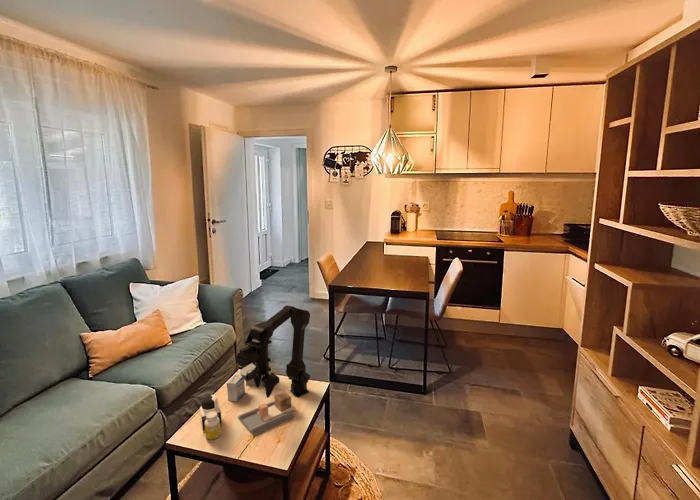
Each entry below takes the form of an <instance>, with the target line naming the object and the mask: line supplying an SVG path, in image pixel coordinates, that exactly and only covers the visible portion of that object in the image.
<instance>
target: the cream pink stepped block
mask: <svg viewBox="0 0 700 500" xmlns="http://www.w3.org/2000/svg"><path fill="white" fill-rule="evenodd" d="M266 404H267V403H262V404H260V405H259V406H257V408H259V412H258V415H259V416H260V417H261V418H262V419H263V420H264V421H265V422H266V421H269V420H271V419H273V418H276V417H278V416H280V415H282V414H285V413H287V412H290V411H293V410H296V408H297V407H296V406H295V405H294V404H293V403H291V408H288V409H286V410H284V411H281V412H280V411H279V410H278V409H277V408H276V407H275V405H273V406H271V407H268V406H267V405H266Z"/></svg>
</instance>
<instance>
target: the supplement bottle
mask: <svg viewBox="0 0 700 500" xmlns="http://www.w3.org/2000/svg"><path fill="white" fill-rule="evenodd" d="M204 433H205V440H206V441H207V442H211V443H213V442H216V441H218V440H220V438H221V437H222V433H221V427H220V419H219V417H217V412H215V411H212V412H209V413H207V414H206V420H205V432H204Z"/></svg>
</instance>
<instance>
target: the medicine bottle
mask: <svg viewBox="0 0 700 500" xmlns="http://www.w3.org/2000/svg"><path fill="white" fill-rule="evenodd" d="M218 400H219V399H218V396H217V395H215V394H209V395H206V396H203V398H202V399H201V406H200V407H199V417H200V424H201V429H202V432H203V433H205V420H206V414H207V413H209V412H212V411H215V412H217V417H219V419H220V428H222V427H223V423H222V410H221V408H220V404H219V401H218Z"/></svg>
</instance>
